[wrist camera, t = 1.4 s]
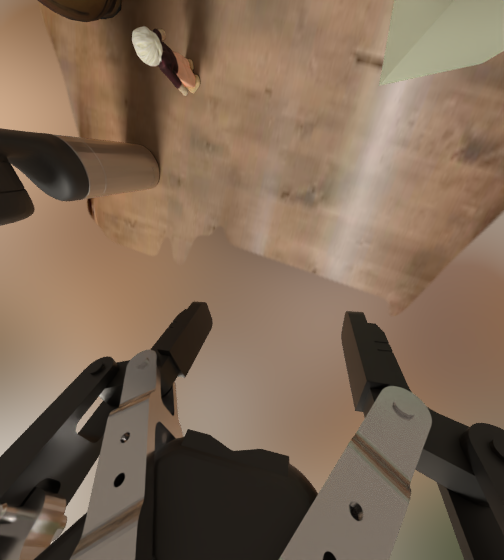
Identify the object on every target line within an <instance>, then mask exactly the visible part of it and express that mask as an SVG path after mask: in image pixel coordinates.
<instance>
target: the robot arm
mask: <svg viewBox="0 0 504 560" xmlns="http://www.w3.org/2000/svg"><path fill="white" fill-rule="evenodd" d="M10 163H11V164H12V165H13V166H15V167H16V168H18V169H19V170H20V171H21V172H23V173H24V174H25V175H26V176H27V177H28V178H29V179H30V180H31V181H32V182H33V183H34V184H35V185H37V187H38V188H40V189H41V190H42V191H44V192H45V193H46V194H48V195H49V196H51V197H53V198H55V199H58V200H61V201H75V200H81V199H88V198H94V197H100V196H107V195H113V194H120V193H127V192H133V191H140V190H147V189H152V188H154V187H155V186H156V185H157V183H158V181H159V167H158V164H157V162H156V159H155V158H154V156H153V155H152V153H151V152H150V151H149V150H148V149H147V148H145V147H144V146H142V145H139V144H132V143H124V142H115V141H106V140H97V139H88V138H79V137H70V136H61V135H52V134H45V133H33V132H25V131H16V130H8V129H0V225H5V224H9V223H14V222H16V221H20V220H23V219H25V218H27V217H29V216H31V215H32V214H33V212H34V206H33V203H32V200H31V198H30V197H29V195H28V193H27V191H26V190H25V189H24V186H23V184H22V182H21V181H20V179H19V177H18V176H17V174H16V172H15V171H14V169H13V167H12V166H11V164H10ZM211 328H212V317H211V314H210V312H209V309H208V306H207V303H205V302H193V303H192V304H191V305H190V306H189V308H188V309H185V310H184V311H182V312H181V313H180V314H179V315H178V316H177V317H176V318H175V319H174V320H173V323H171V324H170V326H169V328H167V329H166V331H165V332H164V333H163V335H162V336H161V337H160V338H159V340H158V341H157V342H156V343H155V344H154V346H153V347H152V348H151V350H145V351H142V352H140V353H138V354H137V355H136V356H134V357H133V358H132V359H131V360H129V361H123V362H117V363H116V362H115V361H114V360H113V358H111V357H103V358H100V359H98V360H96V361H95V362H93V363H91V364H90V365H89V366H88V367H87V368H86V369H85V370H84V371H83V372H82V373H81V374H80V375H79V376H78V377H77V378H76V379H75V380H74V381H73V382H72V383H71V384H70V385H69V386H68V388H66V389H65V390H64V392H63V393H62V394H61V395H60V396H59V397H58V398H57V399H56V400H55V401H54V402H53V403H52V404H51V405H50V406H49V407H48V408H47V409H46V410H45V411H44V412H43V413H42V414H41V415H40V416H39V417H38V418H37V419H36V421H35V422H34V423H33V424H32V425H31V426H30V427H29V428H28V429H27V430H26V431H25V432H24V433H23V434H22V435H21V436H20V437H19V438H18V439H17V440H16V441H15V442H14V443H13V444H12V445H11V446H10V448H9V449H7V450H6V451H5V453H4V454H3V455H2V456H1V457H0V560H389V558H390V555H391V552H392V550H393V547H394V544H395V541H396V538H397V535H398V533H399V530H400V527H401V524H402V521H403V519H404V516H405V513H406V510H407V507H408V504H409V501H410V496H411V489H410V483H411V479H412V477H413V474H414V471H415V470H417V471H419V472H421V473H422V474H424V475H426V476H427V477H429V478H431V479H433V480H434V481H436V482H437V484H438V487H439V490H440V492H441V495H442V498H443V501H444V504H445V506H446V509H447V512H448V515H449V518H450V521H451V523H452V526H453V529H454V532H455V535H456V538H457V540H458V543H459V546H460V549H461V552H462V554H463V557H464V560H504V430H503V429H501V428H498V427H496V426H493V425H490V424H486V423H476V424H474V425H472V426H471V427H468V426H466V425H464V424H461V423H459V422H456V421H454V420H452V419H450V418H448V417H445V416H443V415H440V414H438V413H436V412H434V411H433V410H431V409H429V408H428V407H427V406H426V405H425V404H424V403H423V402H422V401H421V400H420V399H419V398H418V397H417V396H416V395H414V394H413V393H412V392H411V390H410V389H409V387H408V385H407V383H406V381H405V378H404V376H403V374H402V372H401V369H400V367H399V365H398V363H397V360H396V358H395V356H394V354H393V353H392V349H391V347H390V345H389V344H388V340H387V338H386V336H385V333H384V332H383V331H382V330H381V329H380V328H379V327H378V326H377V325H376V324H372V323H367V320H366V318H365V315H364V313H363V312H351V311H346V313H345V317H344V322H343V327H342V334H341V339H342V346H343V351H344V356H345V361H346V366H347V371H348V376H349V382H350V387H351V392H352V396H353V402H354V407H355V411H360V412H363V413H364V416H365V419H364V421H363V422H362V424H361V426H360V427H359V430H358V431H357V433H356V434H355V436H354V437H353V438H352V439H351V441H350V442H349V444H348V446H347V447H346V449H345V451H344V452H343V454H342V456H341V457H340V459H339V460H338V462H337V464H336V465H335V467H334V469H333V470H332V472H331V474H330V475H329V477H328V479H327V481H326V482H325V484H324V485H323V487H322V489H321V490H320V492H319V494H318V493H317V492H316V490H315V488H314V487H313V486H312V484H311V483H310V482H309V481H308V479H307V478H306V477H305V476H304V475H303V474H302V473H301V472H300V471H299V470H297V469H296V468H295V467H294V466H292V465H291V464H289V456H286V455H282V454H278V453H274V452H271V451H267V450H263V449H254V450H241V451H232V450H230V449H229V448H227V447H226V446H224V445H223V444H222V443H220V442H219V441H217V440H216V439H215V438H213V437H212V436H211V435H208V434H204V433H200V432H197V431H193V430H189V429H188V430H187V433H186V435H185V437H183V432H182V428H181V425H180V423H179V419H178V409H177V395H176V383H175V380H176V378H177V376H178V377H184V378H185V377H186V375H187V373H188V371H189V369H190V368H191V366H192V364H193V362H194V360H195V358H196V356H197V355H198V353H199V351H200V349H201V347H202V345H203V343H204V342H205V339H206V338H207V336H208V334H209V332H210V330H211ZM98 396H99V397H100V398H101V399H102V400H103V402H102V403H101V404H100V406H99V407H98V408H97V409H96V411H95V412H94V413H93V415H92V416H91V417H90V419H89V420H88V421H87V423H86V424H85V425H84V426H83V428H82V429H81V430H80V432H79V433H78V434H77V433H76V431H75V430H76V425H77V423H78V422H79V420H80V419H81V418H82V416H83V415H84V414H85V413H86V411H87V410H88V409H89V408H90V406H91V405H92V404H93V403H94V401H95V400H96V399H97V398H98ZM99 455H100V456H99ZM98 457H99V461H98V465H97V470H96V475H95V479H94V484H93V489H92V493H91V498H90V502H89V507H88V512H87V513H86V514H85V515H83V516H82V517H81V518H80V519H79V520H78V521H77V522H76V523H75V524H73V525H72V526H71V527H70V528H69V529H68V530H67V531H65V532H64V533H63V534H62V535H61V536H60V537H59V535H60V534H61V533H62V531H63V530H64V528H65V526H66V523H67V516H65V515H64V513H65V510H66V506H67V505H68V503H69V502H70V500H71V499H72V497H73V496H74V494H75V492H76V491H77V489H78V488H79V486H80V485H81V483H82V482H83V480H84V478H85V477H86V475H87V474H88V472H89V470H90V469H91V467H92V466H93V464H94V463H95V461H96V460H97V458H98ZM58 537H59V538H58ZM55 539H57V540H55ZM54 540H55V541H54ZM52 541H54V542H53V543H52V544H51V545H50V543H51V542H52Z"/></svg>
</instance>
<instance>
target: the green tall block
mask: <svg viewBox="0 0 504 560" xmlns="http://www.w3.org/2000/svg"><path fill="white" fill-rule="evenodd" d="M503 51H504V0H394V5H393V11H392V16H391V22H390V28H389V33H388V39H387V44H386V50H385V56H384V61H383V67H382V73H381V78H380V84H379V86H380V85H385V84H389V83H394V82H399V81H403V80H408V79H413V78H417V77H422V76H427V75H431V74H436V73H441V72H445V71H450V70H454V69H459V68H464V67H468V66H473V65H478V64H482V63H484V62H486V61H487V60H489V59H491V58H492V57H494V56H496V55H497V54H499V53H501V52H503Z"/></svg>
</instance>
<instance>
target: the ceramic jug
mask: <svg viewBox="0 0 504 560" xmlns="http://www.w3.org/2000/svg"><path fill="white" fill-rule="evenodd" d="M38 1H39V2H40V3H42V4H43V5H45V6H46V7H48V8H49V9H50V10H52V11H54V12H56V13H58V14H59V15H61V16H63V17H66V18H68V19H71V20H76V21H82V22H89V21H95V20H99V19H107V18H112V17H114V16H115V15H116V14H117V13H118V12H119V11H120V10H121V0H38Z"/></svg>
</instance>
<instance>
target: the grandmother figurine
mask: <svg viewBox="0 0 504 560" xmlns="http://www.w3.org/2000/svg"><path fill="white" fill-rule="evenodd" d="M165 38H166V35H165V32H164V30H163V29H154V30H153V32H152V31H150V30H149V29H148V28H147V27H146V26H143V27H139V28H136V29H135V30H134V31H133V33H132V42H133V45H134V48H135V50H136V53H137V55H138V56H139V57H140V59H141V60H142V61H143V62H144V63H146V64H148V65H149V66H157V65H158V66H159V68H160V69H161V71H162V72H163V73H164V74H165V75H166V76H167V77H168V78H169V79H170V81H171V82H172V83H173V84H174V85H175V87H176V88H177V89H179V90H180V91H181V92H182V94H183V95H184V96H186V95H187V94H188V90H189V91H190V92H191V93H195V92H196V90H197V89H198V87H199V86H200V79H199V77H198V75H194V74H193V72H192V71H193V68H194V66H193V62H192V61H191V60H190V59H186V58H185V57H183V56H182V55H180V54H179V53H177V52H174V51H172V50H171V49H170V48H169V47H168V46H167V45H166V44H165V43H164V42H162V40H164V39H165ZM186 86H187V88H188V90H187V88H186Z"/></svg>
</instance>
